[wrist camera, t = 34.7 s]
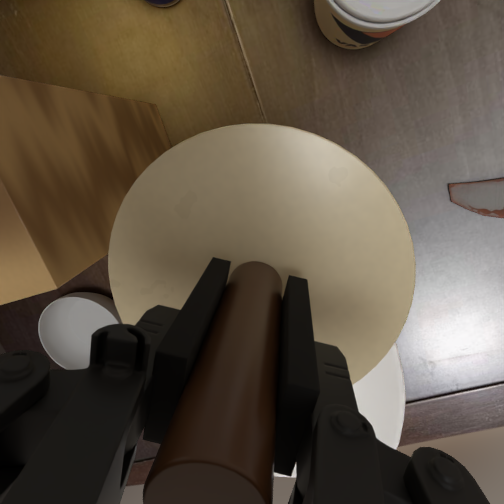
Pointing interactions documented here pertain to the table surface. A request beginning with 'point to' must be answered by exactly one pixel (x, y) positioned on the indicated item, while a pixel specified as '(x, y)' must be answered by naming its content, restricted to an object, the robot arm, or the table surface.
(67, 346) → the small pan
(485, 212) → the kitchen knife
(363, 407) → the bowl
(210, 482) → the lid
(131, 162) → the stand
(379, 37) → the coffee cup
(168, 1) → the pill bottle
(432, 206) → the table surface
